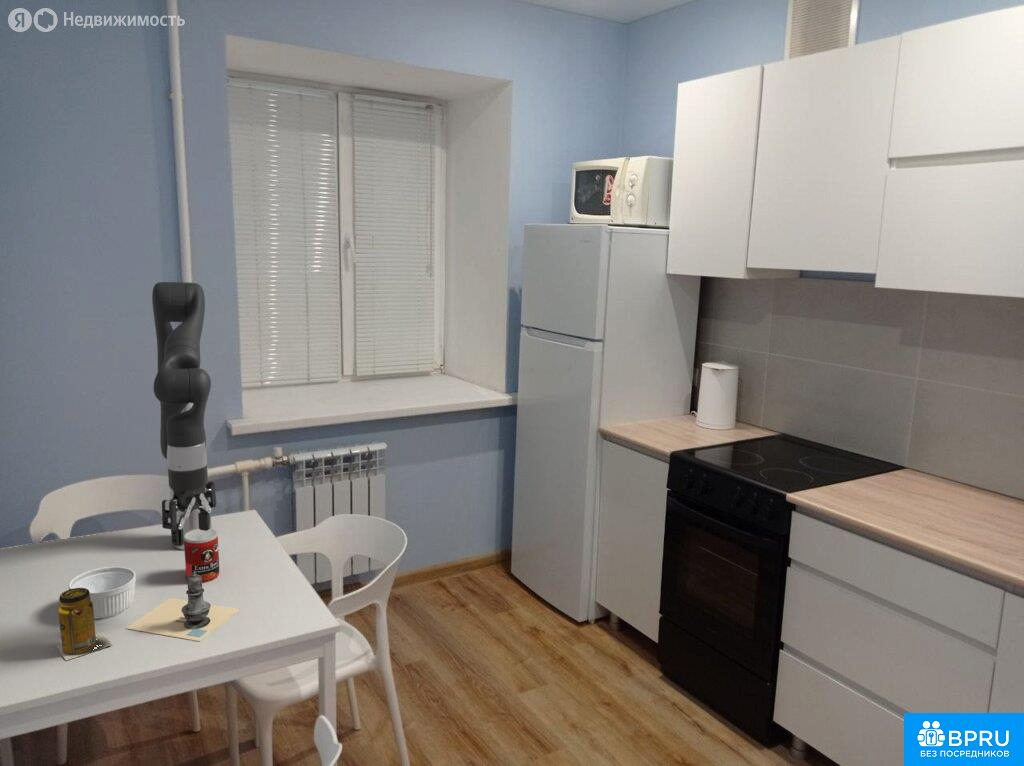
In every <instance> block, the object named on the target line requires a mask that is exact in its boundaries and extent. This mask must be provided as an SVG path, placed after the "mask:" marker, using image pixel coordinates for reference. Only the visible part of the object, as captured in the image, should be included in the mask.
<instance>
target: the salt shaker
mask: <svg viewBox="0 0 1024 766" xmlns="http://www.w3.org/2000/svg"><path fill="white" fill-rule="evenodd" d="M195 573H196V572H195V571H194V572H193V573H192V574H193V575H191V576H189V577H188V579H187V578H186V579H187V583H186V584H187V590H186V591H185V594H186V595H187V601H188V604H186V605H185V606H184V607H182V609H181V611H182V613H183V615H184V617H185V618H186V619H187V620H186V621H185V623H184V627H185V628H188V629H199V628H202V627H205V626H207V625H208V624H209V623H210V619H209V618H208V617H206V616H207V615H208V613H209V609H210V607H211V605H212V604H211V603H210V602H208V601H205V600H204V592H205V589H204V587H203V583H202V578H201V576H200V575H198V574H195Z"/></svg>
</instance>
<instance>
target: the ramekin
mask: <svg viewBox="0 0 1024 766" xmlns="http://www.w3.org/2000/svg"><path fill="white" fill-rule="evenodd" d="M136 582H137V576H136V572H135V571H134V570H133V569H132V568H129V567H124V566H105V567H104V566H103V567H99V568H93V569H91V570H88V571H85V572H82V573H81V574H78V575H76V576H75V577H73V578H72V580H70V581H69V584H68V590H70V589H73V588H86V589H88V590H89V592H90V598H91V599H90V600H91V601H92V603H93V611H94V620H100V619H99V618H103V619H106V617H108V618H111V616H112V617H115V616H117V614H118V615H119V613H120V614H122V613H124V612H125V611H127V610H128V609H130V607H131V605H132V604H133V603H134V600H135V590H136ZM126 609H127V610H126ZM123 611H124V612H123ZM121 612H122V613H121ZM114 615H115V616H114Z"/></svg>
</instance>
